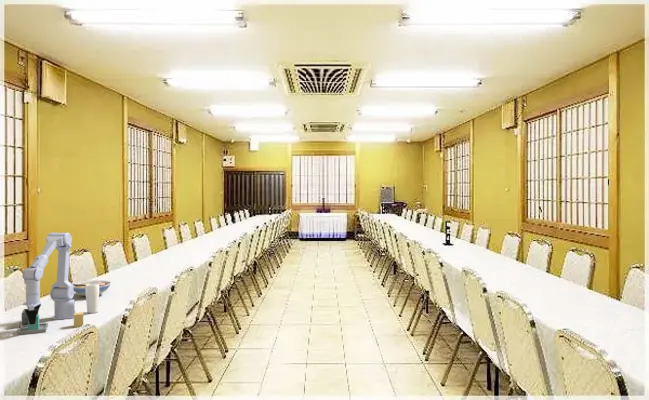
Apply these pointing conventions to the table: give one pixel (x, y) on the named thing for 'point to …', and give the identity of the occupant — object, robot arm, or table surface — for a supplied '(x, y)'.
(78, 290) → the ramen bowl
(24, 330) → the slate tray
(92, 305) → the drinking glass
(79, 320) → the ochre block
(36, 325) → the teal block
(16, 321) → the table surface
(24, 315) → the silver unit
